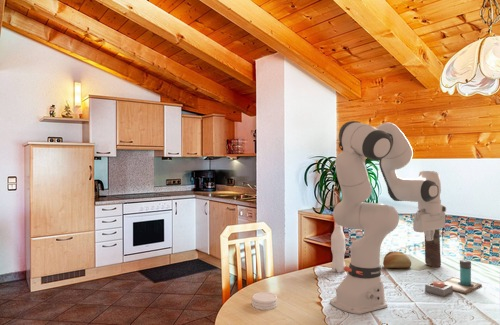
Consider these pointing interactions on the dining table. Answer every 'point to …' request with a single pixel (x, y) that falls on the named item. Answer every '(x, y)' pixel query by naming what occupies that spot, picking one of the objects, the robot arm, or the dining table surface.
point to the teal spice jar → (465, 272)
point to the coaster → (264, 301)
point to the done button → (438, 284)
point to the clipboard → (459, 287)
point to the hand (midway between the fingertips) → (429, 240)
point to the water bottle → (338, 249)
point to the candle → (433, 250)
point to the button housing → (438, 289)
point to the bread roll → (396, 260)
